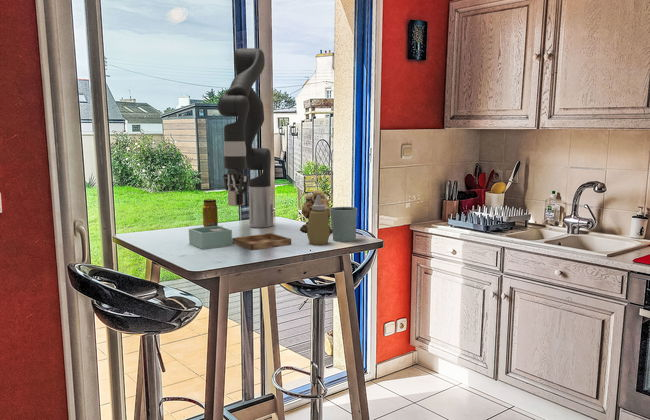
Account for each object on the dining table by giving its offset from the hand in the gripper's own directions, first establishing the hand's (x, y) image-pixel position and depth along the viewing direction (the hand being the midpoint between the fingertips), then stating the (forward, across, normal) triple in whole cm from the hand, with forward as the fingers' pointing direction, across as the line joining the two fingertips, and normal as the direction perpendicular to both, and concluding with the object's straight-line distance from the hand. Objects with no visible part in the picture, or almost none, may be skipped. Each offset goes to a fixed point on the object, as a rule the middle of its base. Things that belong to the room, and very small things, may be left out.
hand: (236, 203), depth 191 cm
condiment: (+16, +42, -11) cm, 46 cm away
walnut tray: (+15, -3, -8) cm, 18 cm away
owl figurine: (+16, +8, -40) cm, 44 cm away
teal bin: (+15, +7, +7) cm, 18 cm away
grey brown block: (+15, +7, +4) cm, 17 cm away
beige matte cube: (0, 0, 0) cm, 0 cm away
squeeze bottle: (+15, -15, -25) cm, 33 cm away
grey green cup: (+16, -13, -38) cm, 43 cm away
